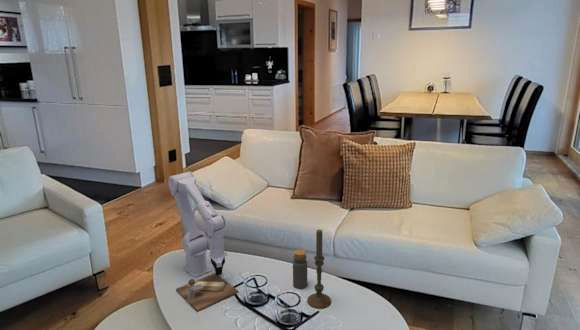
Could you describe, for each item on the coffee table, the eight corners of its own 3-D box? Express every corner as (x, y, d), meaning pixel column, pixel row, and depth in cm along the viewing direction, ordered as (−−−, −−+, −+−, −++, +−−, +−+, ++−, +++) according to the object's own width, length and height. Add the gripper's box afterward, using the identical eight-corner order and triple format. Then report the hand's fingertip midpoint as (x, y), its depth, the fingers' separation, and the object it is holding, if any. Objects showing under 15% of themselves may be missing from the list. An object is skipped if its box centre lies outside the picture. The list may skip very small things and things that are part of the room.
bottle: (306, 289, 155) (306, 256, 152) (291, 288, 157) (291, 254, 153) (308, 282, 161) (308, 249, 157) (294, 280, 162) (294, 247, 158)
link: (187, 289, 155) (186, 282, 154) (189, 285, 158) (189, 278, 157) (222, 290, 153) (222, 284, 153) (224, 286, 156) (224, 279, 156)
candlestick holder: (314, 311, 142) (315, 236, 134) (302, 298, 150) (302, 226, 142) (335, 304, 146) (337, 230, 138) (322, 292, 154) (323, 221, 146)
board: (176, 290, 156) (176, 288, 156) (215, 274, 167) (215, 272, 167) (197, 312, 143) (197, 309, 143) (238, 293, 154) (238, 290, 154)
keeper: (187, 296, 150) (186, 288, 149) (201, 291, 154) (200, 283, 153) (190, 300, 148) (189, 292, 147) (204, 295, 151) (203, 287, 150)
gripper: (228, 251, 151) (230, 282, 154) (224, 235, 164) (226, 264, 168) (210, 253, 149) (212, 285, 153) (207, 237, 163) (210, 266, 166)
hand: (218, 274), depth 160 cm, fingers closed
